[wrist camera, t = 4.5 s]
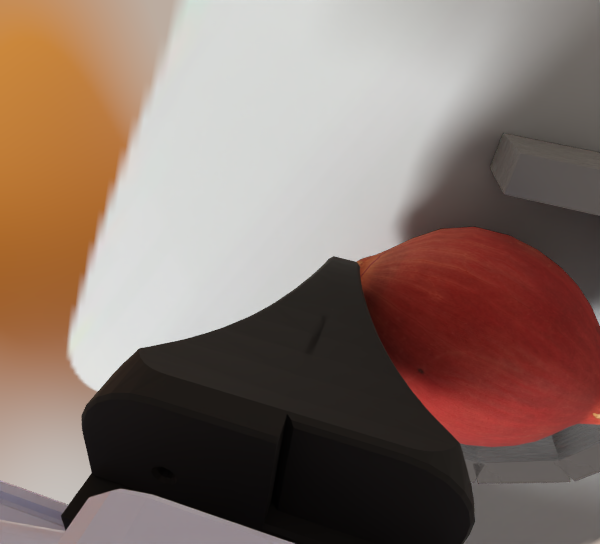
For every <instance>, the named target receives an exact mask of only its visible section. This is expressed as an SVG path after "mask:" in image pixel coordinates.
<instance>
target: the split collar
mask: <svg viewBox="0 0 600 544" xmlns="http://www.w3.org/2000/svg"><path fill="white" fill-rule="evenodd" d="M490 169H491V171H492V173H493V175H494V177H495V179H496V180H497V182H498V184H499V186H500V188H501V190H502V192H503V194H504V195H508V196H513V197H517V198H522V199H526V200H531V201H535V202H540V203H544V204H549V205H553V206H558V207H562V208H567V209H571V210H576V211H580V212H585V213H589V214H594V215H598V216H600V152H595V151H590V150H585V149H580V148H575V147H570V146H565V145H560V144H555V143H550V142H545V141H540V140H535V139H530V138H526V137H521V136H516V135H511V134H506V133H503V135H502V137H501V140H500V143H499V145H498V148H497V150H496V153H495V156H494V158H493V161H492V163H491V166H490ZM460 445H461V448H462V451H463V455H464V459H465V462H466V466H467V470H468V474H469V478H470V482H472V483H474V482H475V480H476V479H477V481H478V484H488V483H547V482H570V478H569V477H571V478H572V479H573V480H574V481H577V480H579V479H582V478H585V477H587V476H590V475H592V474H595V473H598V472H600V425H596V424H576V425H573V426H570V427H568V428H565V429H563V430H561V431H559V432H557V433H555V434H553V435H550V436H548V437H545V438H543V439H540V440H538V441H535V442H530V443H525V444H521V445H516V446H500V447H486V446H474V445H465V444H461V443H460Z"/></svg>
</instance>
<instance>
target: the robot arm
mask: <svg viewBox="0 0 600 544" xmlns="http://www.w3.org/2000/svg"><path fill="white" fill-rule="evenodd" d="M82 431H83V435H84V440H85V444H86V448H87V453H88V457H89V462H90V466H91V471H92V474H91V475H90V476H89V478H88V479H87V481H86V482H85V483H84V485H83V486H82V487H81V489H80V490H79V491H78V493H77V494H76V496H75V497H74V498H73V500H72V501H71V502H70V504H69V505H68V504H65V503H62V502H59V501H57V500H54V499H51V498H48V497H45V496H43V495H40V494H37V493H34V492H32V491H29V490H26V489H23V488H20V487H17V486H15V485H12V484H9V483H6V482H4V481H1V480H0V544H463V543H464V542H465V540H466V539H467V537H468V536H469V534H470V532H471V530H472V527H473V525H474V522H475V517H474V500H473V493H472V487H471V483H470V478H469V474H468V470H467V466H466V462H465V459H464V455H463V451H462V448H461V445H460V443H459V442H458V441H457V440H456V439H455V438H454V437H453V435H452V434H451V433H450V432H449V431H448V430H447V429H446V428H445V427H444V426H443V425H442V424H441V423H440V422H439V421H438V420H437V419H436V418H435V417H434V416H433V415H432V414H431V413H430V412H429V411H428V410H427V408H426V407H425V406H424V405H423V404H422V402H421V401H420V400H419V399H418V398H417V396H416V395H415V394H414V393H413V392H412V390H411V389H410V387H409V386H408V385H407V383H406V382H405V380H404V379H403V378H402V376H401V375H400V373H399V372H398V370H397V369H396V367H395V366H394V364H393V362H392V360H391V359H390V357H389V355H388V354H387V352H386V350H385V348H384V346H383V344H382V342H381V340H380V338H379V336H378V333H377V331H376V329H375V326H374V324H373V321H372V319H371V316H370V313H369V310H368V307H367V304H366V300H365V297H364V293H363V289H362V284H361V277H360V266H359V264H358V262H354V261H350V260H346V259H342V258H338V257H334V256H333V257H332V258H330V259H328V260H327V262H326V263H325V264H324V265H323V266H322V267H321V268H320V269H319V270H317V271H316V272H315V273H314V274H313V275H312V276H311V277H309V278H308V279H307V280H306V281H304V282H303V283H302V284H301V285H300V286H298V287H297V288H296V289H294V290H293V291H291V292H290V293H288V294H287V295H286V296H284V297H283V298H281V299H280V300H278V301H277V302H275V303H273V304H272V305H270V306H268V307H267V308H265V309H263V310H261V311H259V312H257V313H256V314H254V315H252V316H250V317H248V318H245V319H243V320H240V321H238V322H236V323H233V324H231V325H228V326H226V327H223V328H221V329H218V330H215V331H212V332H209V333H205V334H202V335H198V336H195V337H191V338H188V339H184V340H180V341H175V342H170V343H165V344H160V345H156V346H151V347H145V348H140V349H138V350H137V351H136V352H135V353H134V354H133V355H132V356H131V357H130V358H129V359H128V360H127V361H126V362H124V363H123V364H122V365H121V366H120V367H119V368H118V370H117V371H116V372H115V373H114V374H113V375H112V376H111V377H110V378H109V380H108V381H107V382H106V383H105V384H104V385H103V386H102V388H101V389H100V390H99V391H98V392H97V393H96V394H95V396H94V397H93V398H92V399H91V400H90V402H89V403H88V404H87V405H86V407H85V409H84V412H83V414H82Z"/></svg>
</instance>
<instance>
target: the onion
mask: <svg viewBox="0 0 600 544" xmlns="http://www.w3.org/2000/svg"><path fill="white" fill-rule="evenodd" d="M357 262H358V264H359V266H360V277H361V284H362V289H363V293H364V297H365V300H366V304H367V307H368V310H369V313H370V316H371V319H372V321H373V324H374V326H375V329H376V331H377V333H378V336H379V338H380V340H381V342H382V344H383V346H384V348H385V350H386V352H387V354H388V355H389V357H390V359H391V360H392V362H393V364H394V366H395V367H396V369H397V370H398V372H399V373H400V375H401V376H402V378H403V379H404V380H405V382H406V383H407V385H408V386H409V387H410V389H411V390H412V392H413V393H414V394H415V395H416V396H417V398H418V399H419V400H420V401H421V402H422V404H423V405H424V406H425V407H426V408H427V410H428V411H429V412H430V413H431V414H432V415H433V416H434V417H435V418H436V419H437V420H438V421H439V422H440V423H441V424H442V425H443V426H444V427H445V428H446V429H447V430H448V431H449V432H450V433H451V434H452V435H453V437H454V438H455V439H456V440H457V441H458V442H459V443H461V444H465V445H474V446H486V447H500V446H516V445H521V444H525V443H530V442H535V441H538V440H540V439H543V438H545V437H548V436H550V435H553V434H555V433H557V432H559V431H561V430H563V429H565V428H568V427H570V426H573V425H576V424H596V425H600V326H599V323H598V321H597V319H596V316H595V314H594V312H593V309H592V307H591V305H590V304H589V302H588V300H587V299H586V297H585V296H584V294H583V293H582V291H581V290H580V288H579V286H578V285H577V284H576V283H575V282H574V281H573V280H572V279H571V278H570V277H569V275H568V274H567V273H566V272H565V271H564V270H563V269H562V268H561V267H560V266H559V265H557V264H556V263H555V262H553V261H552V260H551V259H549V258H548V257H547V256H545V255H544V254H543V253H542V252H540V251H539V250H537V249H535V248H533V247H532V246H530V245H528V244H526V243H524V242H522V241H520V240H518V239H516V238H514V237H512V236H510V235H506V234H502V233H498V232H494V231H490V230H486V229H482V228H478V227H462V228H446V229H439V230H436V231H433V232H430V233H427V234H424V235H421V236H418V237H415V238H412V239H410V240H408V241H406V242H404V243H402V244H399V245H397V246H395V247H393V248H391V249H389V250H386V251H384V252H382V253H379V254H377V255H374V256H370V257H366V258H363V259H360V260H359V261H357Z"/></svg>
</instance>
